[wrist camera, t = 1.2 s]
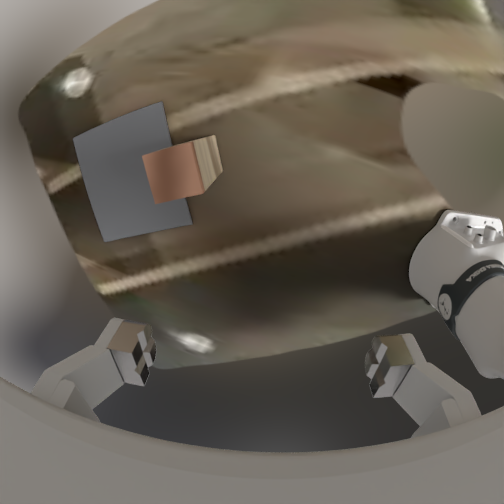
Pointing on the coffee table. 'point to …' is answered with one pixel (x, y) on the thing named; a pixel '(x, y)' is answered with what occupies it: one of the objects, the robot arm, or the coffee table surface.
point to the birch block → (183, 169)
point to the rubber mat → (127, 174)
